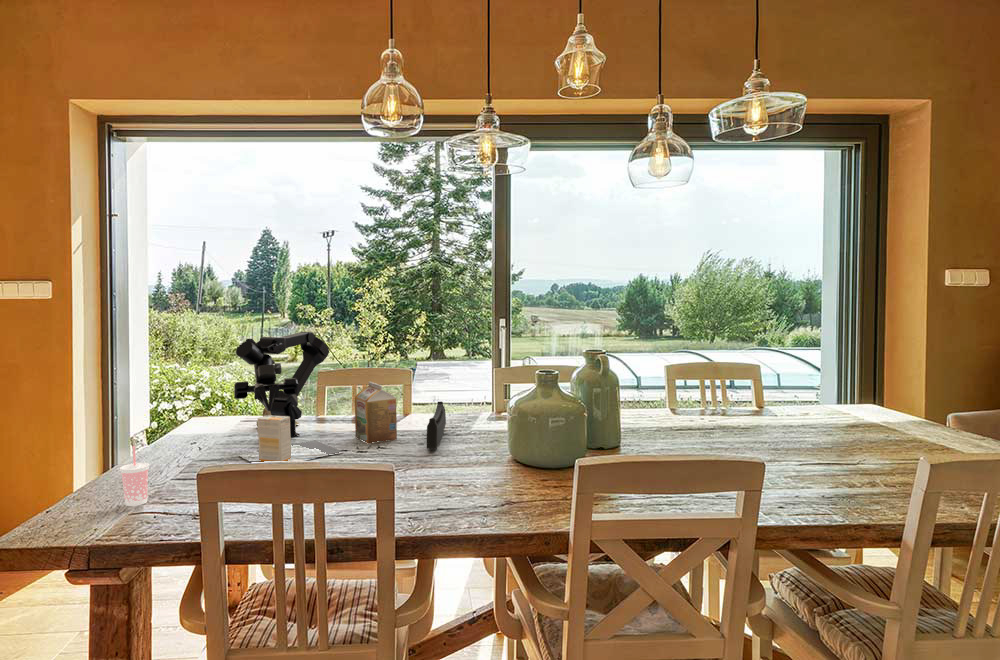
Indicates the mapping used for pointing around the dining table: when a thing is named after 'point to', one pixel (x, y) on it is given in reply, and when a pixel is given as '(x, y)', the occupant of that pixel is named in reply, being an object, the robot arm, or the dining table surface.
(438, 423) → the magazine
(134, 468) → the beverage cup
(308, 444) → the rubber mat
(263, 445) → the supplement box
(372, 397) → the milk carton
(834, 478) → the dining table surface
